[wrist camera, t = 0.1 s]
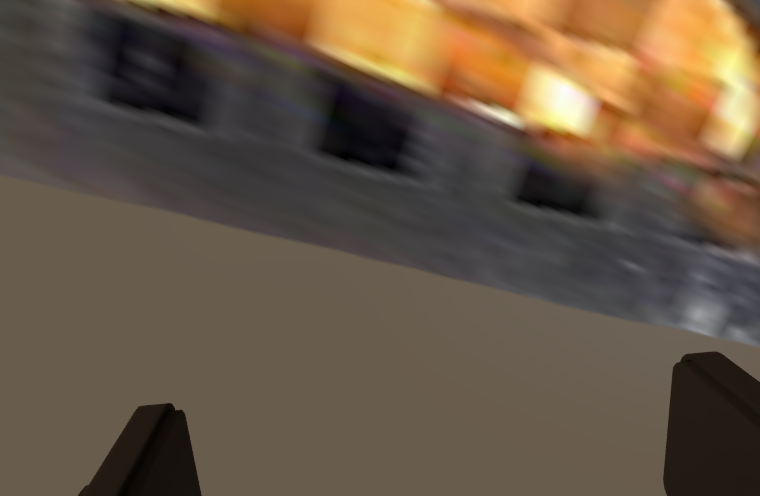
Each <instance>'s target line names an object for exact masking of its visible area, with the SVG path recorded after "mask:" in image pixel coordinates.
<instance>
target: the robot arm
mask: <svg viewBox="0 0 760 496" xmlns="http://www.w3.org/2000/svg"><path fill="white" fill-rule="evenodd" d="M663 480H664V487H665V491H666V494H667V496H760V382H759V381H757V380H756V379H755V378H753V377H752V376H751V375H749V374H748V373H747V372H745V371H744V370H743V369H741V368H740V367H739V366H737V365H736V364H734V363H733V362H732V361H730V360H729V359H728V358H727V357H725V356H724V355H722V354H721V353H719V352H704V353H693V354H686V355H684V356H683V357H682V359H681V362H679V363H676V364H675V365H674V367H673V374H672V385H671V398H670V408H669V421H668V432H667V442H666V454H665V466H664V477H663ZM78 496H201V491H200V486H199V481H198V476H197V471H196V466H195V462H194V456H193V451H192V446H191V441H190V436H189V431H188V427H187V421H186V417H185V413H184V412H183V411H182V410H176V411H175V408H174V406H173V405H172V404H171V403H167V404H156V405H146V406H139V407H138V408H137V409H136V411H135V412H134V414H133V415H132V417H131V419H130V420H129V422H128V423H127V425H126V427H125V428H124V430H123V431H122V433H121V435H120V436H119V438H118V439H117V441H116V443H115V444H114V446H113V447H112V449H111V451H110V452H109V454H108V455H107V457H106V458H105V460H104V462H103V463H102V465H101V467H100V468H99V470H98V472H97V473H96V475H95V476H94V478H93V479H92V481H91V482H90V484H89V485H87V486H85V487H84V488H83V490H82V491H81V492H80V493H79V495H78Z"/></svg>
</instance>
